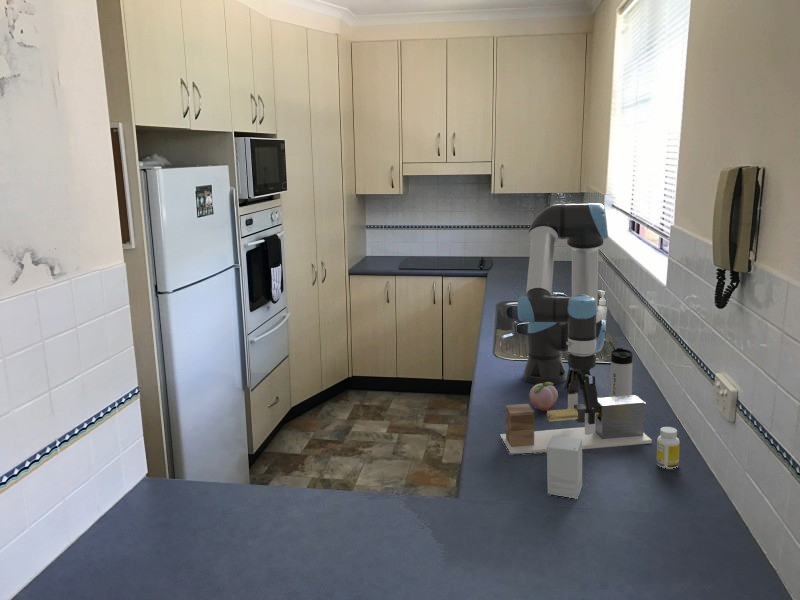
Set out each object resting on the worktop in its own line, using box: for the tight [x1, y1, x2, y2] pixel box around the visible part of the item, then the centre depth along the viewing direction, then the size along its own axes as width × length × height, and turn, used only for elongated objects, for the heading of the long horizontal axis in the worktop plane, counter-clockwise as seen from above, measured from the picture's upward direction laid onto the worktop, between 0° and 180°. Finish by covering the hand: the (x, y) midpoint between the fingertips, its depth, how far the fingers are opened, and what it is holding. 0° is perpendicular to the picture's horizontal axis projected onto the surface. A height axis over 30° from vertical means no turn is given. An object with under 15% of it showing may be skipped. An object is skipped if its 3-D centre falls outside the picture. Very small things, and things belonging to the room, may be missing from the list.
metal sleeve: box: [595, 394, 647, 439], centre depth 186 cm, size 6×13×10 cm, turn 95°
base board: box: [499, 426, 653, 454], centre depth 186 cm, size 12×40×1 cm, turn 95°
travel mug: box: [609, 347, 633, 397], centre depth 202 cm, size 6×7×20 cm
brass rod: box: [546, 403, 601, 424], centre depth 185 cm, size 4×26×4 cm, turn 95°
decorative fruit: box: [528, 381, 559, 412], centre depth 207 cm, size 9×8×10 cm
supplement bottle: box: [656, 426, 681, 470], centre depth 168 cm, size 5×5×10 cm
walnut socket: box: [505, 403, 535, 447], centre depth 183 cm, size 6×6×10 cm
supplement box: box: [546, 435, 583, 500], centre depth 157 cm, size 7×7×13 cm
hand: (581, 424), depth 185 cm, fingers open, 13 cm apart
